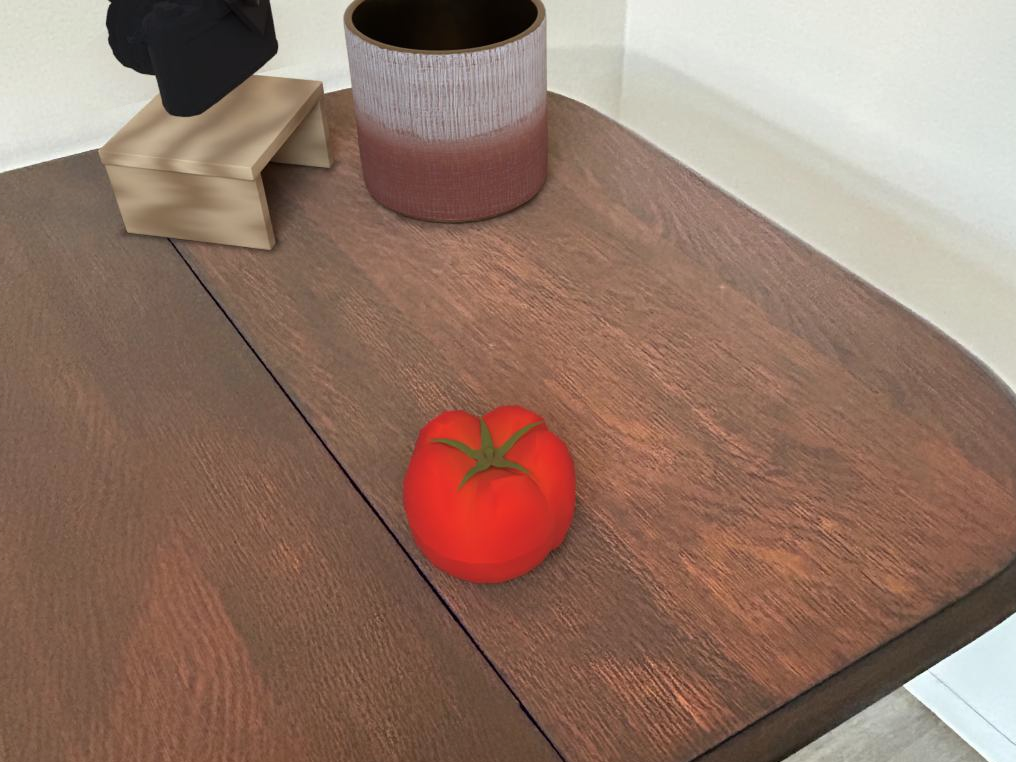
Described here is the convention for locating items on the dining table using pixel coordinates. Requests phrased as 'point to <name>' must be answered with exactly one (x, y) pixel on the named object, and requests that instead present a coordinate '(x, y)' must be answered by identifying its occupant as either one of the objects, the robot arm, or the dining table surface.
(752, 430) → the dining table surface
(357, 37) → the planter
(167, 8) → the film camera
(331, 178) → the dining table surface
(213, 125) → the shelf
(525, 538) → the tomato
